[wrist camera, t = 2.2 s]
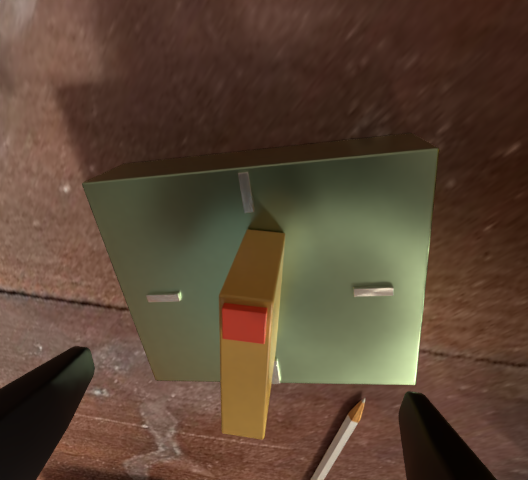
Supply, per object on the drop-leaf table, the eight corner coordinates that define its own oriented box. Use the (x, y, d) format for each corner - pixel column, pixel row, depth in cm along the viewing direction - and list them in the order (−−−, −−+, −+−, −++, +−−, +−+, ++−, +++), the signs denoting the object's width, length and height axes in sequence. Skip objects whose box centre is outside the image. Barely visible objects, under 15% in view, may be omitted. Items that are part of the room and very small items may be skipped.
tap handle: (275, 348, 14) (263, 448, 10) (243, 344, 14) (219, 441, 10) (285, 232, 11) (273, 307, 8) (246, 228, 12) (215, 301, 8)
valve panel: (177, 337, 19) (154, 384, 16) (123, 163, 14) (77, 184, 12) (399, 336, 17) (417, 389, 14) (412, 132, 12) (442, 148, 10)
